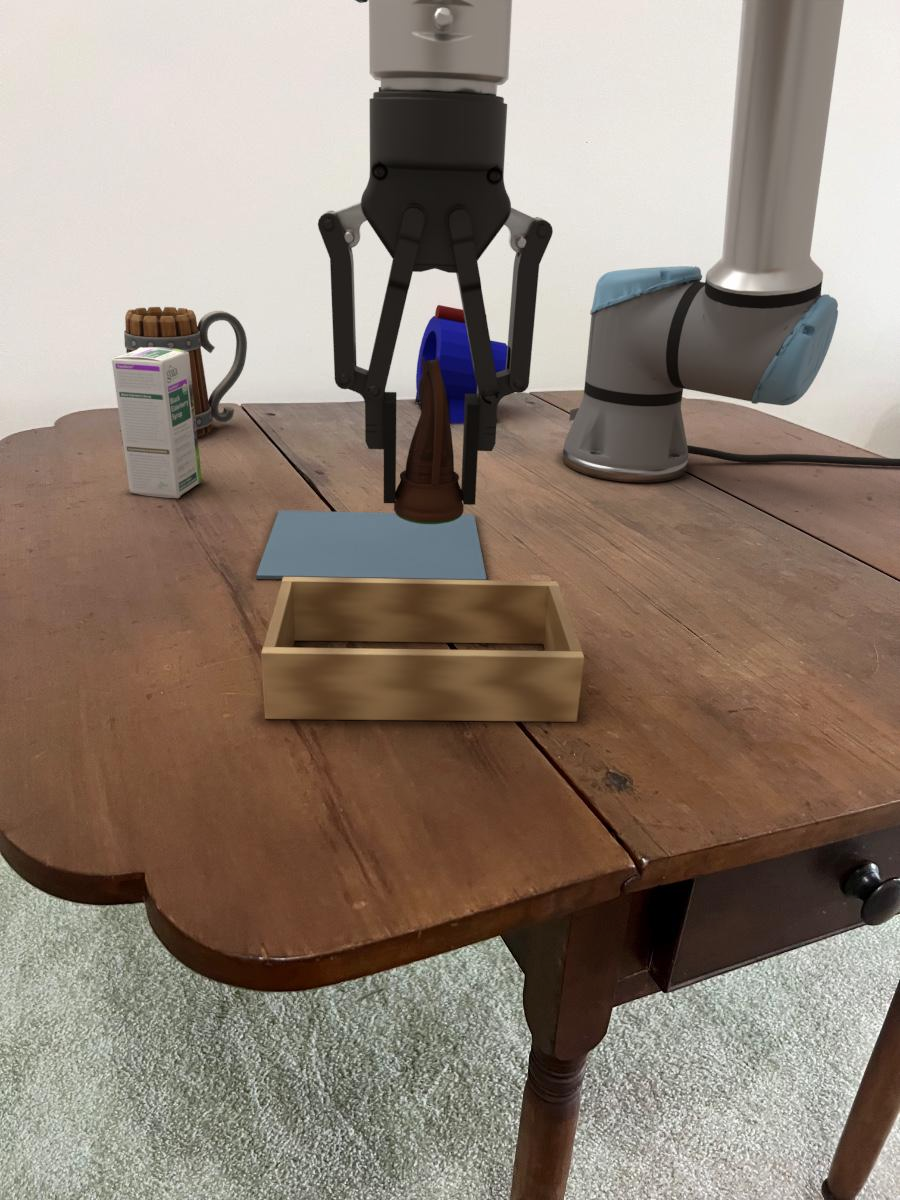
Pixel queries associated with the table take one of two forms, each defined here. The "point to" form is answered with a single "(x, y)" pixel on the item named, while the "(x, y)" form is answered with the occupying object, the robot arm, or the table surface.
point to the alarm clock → (454, 357)
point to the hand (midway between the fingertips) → (428, 496)
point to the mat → (370, 547)
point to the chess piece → (430, 459)
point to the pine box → (421, 651)
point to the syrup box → (157, 421)
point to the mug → (185, 335)
